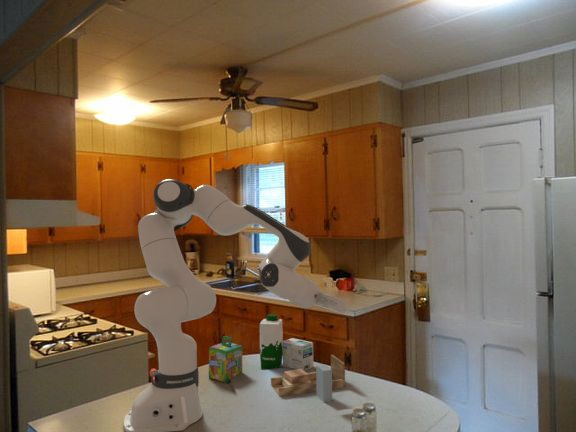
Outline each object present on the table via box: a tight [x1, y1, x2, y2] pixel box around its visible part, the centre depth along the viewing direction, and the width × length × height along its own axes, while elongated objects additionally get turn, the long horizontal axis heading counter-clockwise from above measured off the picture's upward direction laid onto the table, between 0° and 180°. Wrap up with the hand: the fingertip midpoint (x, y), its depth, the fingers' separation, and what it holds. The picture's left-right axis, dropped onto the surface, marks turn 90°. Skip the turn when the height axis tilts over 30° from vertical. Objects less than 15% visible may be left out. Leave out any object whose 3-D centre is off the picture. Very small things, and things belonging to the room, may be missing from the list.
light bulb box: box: [282, 337, 314, 372], centre depth 169 cm, size 11×7×11 cm, turn 49°
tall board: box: [315, 364, 333, 403], centre depth 139 cm, size 3×6×11 cm, turn 19°
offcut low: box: [282, 378, 311, 387], centre depth 148 cm, size 8×7×2 cm
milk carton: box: [259, 313, 284, 370], centre depth 172 cm, size 9×9×20 cm
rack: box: [270, 354, 346, 397], centre depth 149 cm, size 23×10×9 cm, turn 108°
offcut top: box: [283, 369, 309, 384], centre depth 148 cm, size 6×6×2 cm
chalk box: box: [208, 335, 243, 384], centre depth 162 cm, size 9×9×15 cm
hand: (333, 307), depth 142 cm, fingers open, 8 cm apart
